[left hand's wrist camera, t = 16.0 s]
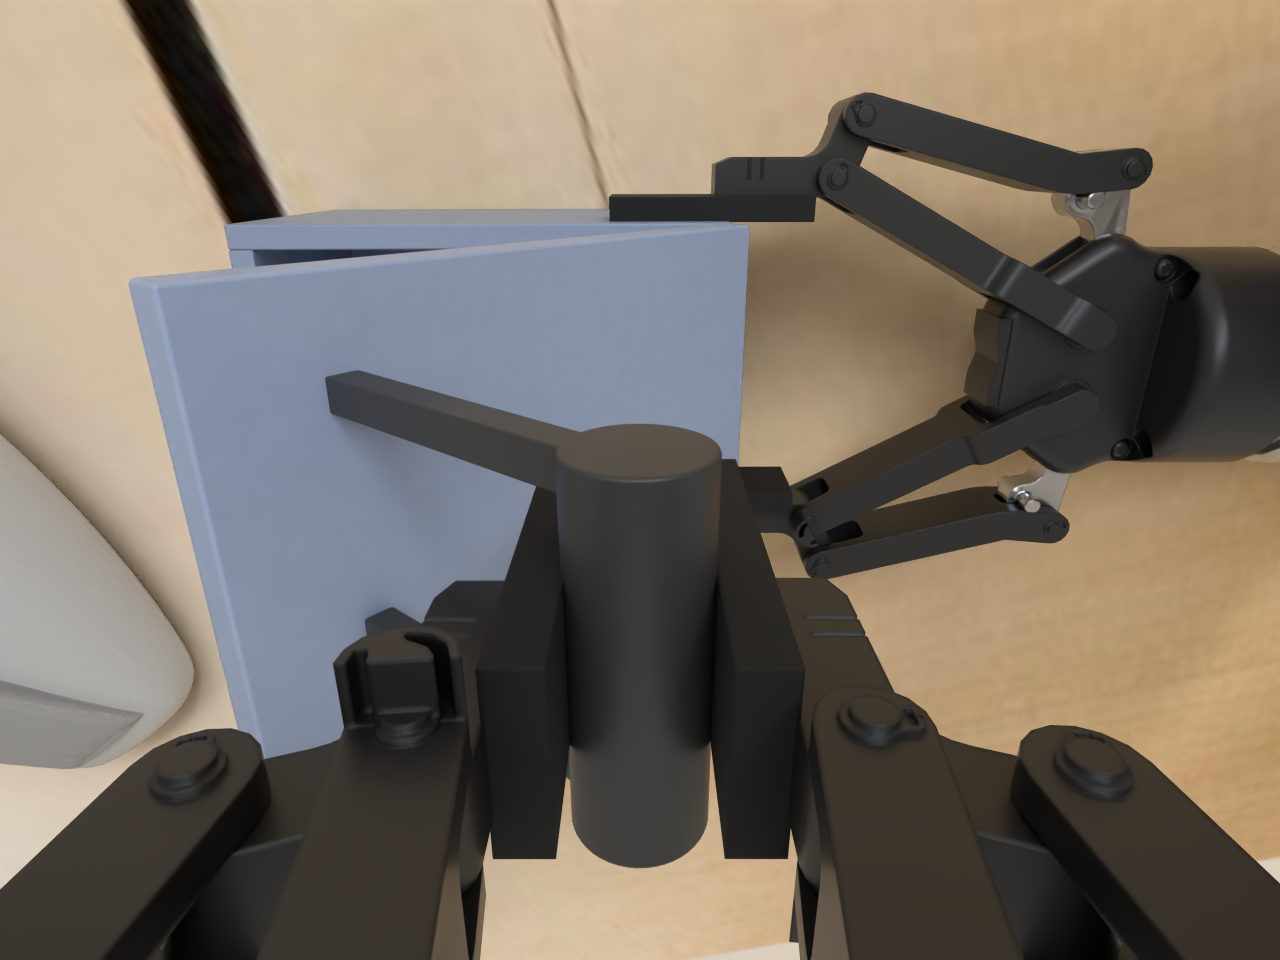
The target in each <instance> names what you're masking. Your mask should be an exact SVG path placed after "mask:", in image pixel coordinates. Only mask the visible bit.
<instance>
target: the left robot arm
mask: <svg viewBox="0 0 1280 960" xmlns="http://www.w3.org/2000/svg"><path fill="white" fill-rule="evenodd" d="M333 668H334V674H335V679H336V685H337V691H338V696H339V702H340V708H341V713H342V719H343V725H344V729H343V731H342V734H341V737H340V739H338V740H336V741H333V742H331V743H328V744H325V745H322V746H318V747H315V748H311V749H307V750H303V751H298V752H294V753H289V754H285V755H280V756H276V757H271V758H267V759H264V756H263V752H262V747H261V744H260V743H259V742H258V741H257V740H256V739H255V738H254V737H253V736H252V735H251V734H250V733H246V732H242V731H239V730H235V729H232V728H228V729H206V730H202V731H199V732H195V733H190V734H187V735H183V736H179V737H177V738H175V739H173V740H171V741H169V742H167V743H165V744H162V745H160V746H158V747H156V748H154V749H152V750H151V751H150V752H148V753H147V754H146V755H144V756H143V757H142V758H140V759H139V760H137V761H136V762H135V763H133V764H132V765H131V766H130V767H129V768H128V769H127V770H125V771H124V772H123V773H122V774H121V775H120V776H119V777H118V778H117V779H116V780H115V781H114V782H113V783H112V784H111V785H110V786H109V787H108V788H107V789H105V790H104V791H103V792H102V793H101V794H100V795H99V796H98V797H97V798H96V799H95V800H94V801H93V802H92V803H91V804H90V805H89V806H88V807H87V808H85V809H84V810H83V811H82V812H81V813H80V814H79V815H78V816H77V817H76V818H75V819H74V820H73V821H72V822H71V823H70V824H69V825H68V826H67V827H66V828H64V829H63V830H62V831H61V832H60V833H59V834H58V835H57V836H56V837H55V838H54V839H53V840H52V841H51V842H50V843H49V844H48V845H47V846H46V847H44V848H43V849H42V850H41V851H40V852H39V853H38V854H37V855H36V856H35V857H34V858H33V859H32V860H31V861H30V862H29V863H28V864H27V865H26V866H25V867H23V868H22V869H21V870H20V871H19V872H18V873H17V874H16V875H15V876H14V877H13V878H12V879H11V880H10V881H9V882H8V883H7V884H6V885H5V886H3V887H2V888H1V889H0V960H480V953H481V942H482V932H483V921H484V910H485V899H486V890H485V881H484V871H483V860H484V855H485V851H486V847H487V842H488V838H489V833H490V832H491V843H492V853H493V859H556V854H557V846H558V838H559V829H560V821H561V813H562V805H563V797H564V789H565V781H566V772H567V764H568V756H569V748H570V735H569V713H568V690H567V668H566V645H565V622H564V600H563V580H562V577H561V573H560V556H559V535H558V514H557V494H556V493H554V492H551V491H548V490H545V489H542V488H539V487H537V486H536V488H535V491H534V494H533V497H532V500H531V503H530V506H529V509H528V512H527V515H526V518H525V521H524V524H523V527H522V530H521V533H520V536H519V539H518V542H517V545H516V548H515V551H514V554H513V557H512V560H511V563H510V566H509V569H508V572H507V575H506V578H505V581H455V582H453V583H452V584H451V585H450V586H448V587H447V588H446V589H445V590H443V591H442V592H441V593H440V594H438V595H437V596H436V597H434V599H433V601H432V603H431V605H430V607H429V609H428V611H427V613H426V615H425V617H424V622H422V624H421V626H412V625H407V626H401V627H395V628H388V629H383V630H381V631H378V632H375V633H372V634H370V635H367V636H364V637H362V638H360V639H359V640H357V641H356V642H354V643H352V644H351V645H349V646H348V647H346V648H345V649H344V650H343V651H342V652H341V653H340V655H339V656H338V657H337V658H336V660H335V661H334V662H333ZM710 742H711V750H712V758H713V766H714V774H715V782H716V791H717V799H718V807H719V815H720V823H721V832H722V840H723V848H724V856H725V859H788V850H789V840H790V829H791V831H792V835H793V840H794V844H795V848H796V853H797V857H798V861H797V871H796V881H795V890H794V900H793V910H792V920H791V930H790V940H789V942H796V943H799V952H800V960H1280V883H1279V882H1278V881H1277V880H1276V879H1274V878H1273V877H1272V876H1271V875H1270V874H1269V873H1268V872H1267V871H1266V870H1265V869H1264V868H1263V867H1262V866H1261V865H1260V864H1259V863H1258V862H1257V861H1255V860H1254V859H1253V858H1252V857H1251V856H1250V855H1249V854H1248V853H1247V852H1246V851H1245V850H1244V849H1243V848H1242V847H1241V846H1240V845H1239V844H1237V843H1236V842H1235V841H1234V840H1233V839H1232V838H1231V837H1230V836H1229V835H1228V834H1227V833H1226V832H1225V831H1224V830H1223V829H1222V828H1220V827H1219V826H1218V825H1217V824H1216V823H1215V822H1214V821H1213V820H1212V819H1211V818H1210V817H1209V816H1208V815H1207V814H1206V813H1205V812H1204V811H1202V810H1201V809H1200V808H1199V807H1198V806H1197V805H1196V804H1195V803H1194V802H1193V801H1192V800H1191V799H1190V798H1189V797H1188V796H1187V795H1186V794H1184V793H1183V792H1182V791H1181V790H1180V789H1179V788H1178V787H1177V786H1176V785H1175V784H1174V783H1173V782H1172V781H1171V780H1170V779H1169V778H1168V777H1166V776H1165V775H1164V774H1163V773H1162V772H1161V771H1160V770H1159V769H1158V768H1157V767H1156V766H1155V765H1154V764H1153V763H1152V762H1150V761H1149V760H1148V759H1146V758H1145V757H1144V756H1142V755H1141V754H1139V753H1138V752H1137V751H1135V750H1134V749H1133V748H1131V747H1130V746H1128V745H1126V744H1124V743H1122V742H1120V741H1118V740H1116V739H1114V738H1111V737H1109V736H1107V735H1105V734H1103V733H1100V732H1096V731H1092V730H1088V729H1084V728H1080V727H1076V726H1059V725H1049V726H1045V727H1042V728H1038V729H1035V730H1031V731H1030V732H1029V733H1028V734H1027V735H1026V736H1025V737H1024V738H1023V739H1022V740H1021V742H1020V747H1019V751H1018V755H1017V756H1015V755H1011V754H1006V753H1002V752H997V751H993V750H988V749H983V748H979V747H974V746H970V745H967V744H963V743H960V742H957V741H953V740H950V739H948V738H946V737H944V736H941V735H939V733H938V730H937V728H936V726H935V724H934V723H933V721H932V720H931V718H930V717H929V715H928V714H927V712H926V711H925V710H923V709H922V708H921V707H919V706H918V705H917V704H915V703H914V702H913V701H911V700H910V699H909V698H906V697H904V696H902V695H899V694H897V693H895V692H894V690H893V688H892V686H891V684H890V682H889V680H888V678H887V676H886V674H885V672H884V670H883V668H882V666H881V664H880V662H879V660H878V658H877V655H876V653H875V651H874V649H873V647H872V645H871V643H870V641H869V639H868V637H865V631H864V629H863V627H862V625H861V623H860V621H859V620H857V615H856V612H855V610H854V608H853V606H852V604H851V602H850V600H849V598H848V596H847V595H846V594H845V593H843V592H842V591H841V590H840V589H838V588H837V587H836V586H835V585H833V584H832V583H831V582H829V581H828V580H827V579H826V578H775V575H774V572H773V569H772V566H771V563H770V560H769V557H768V554H767V551H766V548H765V545H764V542H763V539H762V536H761V533H760V530H759V527H758V524H757V521H756V518H755V515H754V512H753V509H752V506H751V503H750V500H749V497H748V494H747V491H746V488H745V485H744V482H743V479H742V476H741V473H740V470H739V467H738V464H737V461H736V459H722V469H721V494H720V520H719V546H718V571H717V591H716V616H715V640H714V664H713V689H712V713H711V738H710Z"/></svg>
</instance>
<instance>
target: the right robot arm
mask: <svg viewBox="0 0 1280 960" xmlns="http://www.w3.org/2000/svg"><path fill="white" fill-rule="evenodd" d="M868 146H869V147H873V148H876V149H880V150H883V151H887V152H890V153H894V154H897V155H901V156H904V157H908V158H911V159H915V160H918V161H922V162H925V163H929V164H932V165H936V166H939V167H943V168H946V169H950V170H953V171H957V172H960V173H964V174H967V175H971V176H974V177H978V178H981V179H985V180H988V181H992V182H995V183H999V184H1002V185H1006V186H1009V187H1013V188H1017V189H1021V190H1026V191H1036V192H1050V193H1052V196H1051V202H1052V205H1053V208H1054V210H1055V211H1056V212H1057V213H1058V214H1059V215H1061V216H1066V217H1071V218H1073V219H1074V220H1076V221H1077V223H1078V224H1079V226H1080V235H1079V236H1077V237H1076V238H1074V239H1072V240H1071V241H1069V242H1068V243H1066V244H1065V245H1063V246H1062V247H1060V248H1059V249H1057V250H1056V251H1054V252H1053V253H1051V254H1050V255H1048V256H1047V257H1045V258H1044V259H1042V260H1041V261H1039V262H1038V263H1036V264H1035V265H1033V266H1032V267H1029V266H1027V265H1025V264H1024V263H1022V262H1020V261H1018V260H1015V259H1013V258H1011V257H1009V256H1007V255H1005V254H1003V253H1002V252H1000V251H998V250H997V249H995V248H993V247H992V246H990V245H988V244H987V243H985V242H984V241H982V240H980V239H979V238H977V237H975V236H974V235H972V234H970V233H969V232H967V231H965V230H964V229H962V228H961V227H959V226H957V225H956V224H954V223H952V222H951V221H949V220H947V219H946V218H944V217H942V216H941V215H939V214H938V213H936V212H934V211H933V210H931V209H929V208H928V207H926V206H924V205H923V204H921V203H919V202H918V201H916V200H915V199H913V198H911V197H910V196H908V195H906V194H905V193H903V192H901V191H900V190H898V189H896V188H895V187H893V186H892V185H890V184H888V183H887V182H885V181H883V180H882V179H880V178H878V177H877V176H875V175H873V174H872V173H870V172H869V171H867V170H865V169H864V168H862V167H860V164H861V161H862V159H863V157H864V154H865V152H866V150H867V148H868ZM1152 168H1153V163H1152V158H1151V156H1150V154H1149V152H1147V151H1146V150H1144V149H1139V148H1126V149H1102V150H1087V151H1078V152H1072V151H1069V150H1066V149H1062V148H1059V147H1055V146H1052V145H1049V144H1045V143H1042V142H1038V141H1035V140H1031V139H1028V138H1025V137H1021V136H1018V135H1014V134H1011V133H1008V132H1004V131H1001V130H997V129H994V128H990V127H987V126H984V125H980V124H977V123H973V122H970V121H966V120H963V119H960V118H956V117H953V116H949V115H946V114H943V113H939V112H936V111H932V110H929V109H925V108H922V107H919V106H915V105H912V104H908V103H905V102H902V101H898V100H895V99H891V98H888V97H884V96H881V95H878V94H874V93H862V94H859V95H855V96H852V97H849V98H846V99H844V100H841V101H839V102H837V103H836V104H835V105H834V106H833V107H832V109H831V111H830V113H829V116H828V124H827V127H826V129H825V132H824V134H823V136H822V139H821V141H820V143H819V145H818V146H817V148H816V149H815V150H814V151H813V152H811V153H810V154H809V155H806V156H804V157H729V158H726V159H723V160H721V161H719V162H716V163H714V164H712V182H711V194H612V195H611V196H610V197H609V217H610V222H643V221H729V222H814V217H815V204H816V197H819V198H820V199H822V200H824V201H825V202H827V203H829V204H830V205H832V206H834V207H835V208H837V209H839V210H840V211H842V212H844V213H846V214H847V215H849V216H851V217H852V218H854V219H856V220H857V221H859V222H861V223H862V224H864V225H866V226H867V227H869V228H871V229H872V230H874V231H876V232H878V233H879V234H881V235H883V236H884V237H886V238H888V239H889V240H891V241H893V242H894V243H896V244H898V245H899V246H901V247H903V248H905V249H906V250H908V251H910V252H911V253H913V254H915V255H916V256H918V257H920V258H921V259H923V260H925V261H926V262H928V263H930V264H931V265H933V266H935V267H937V268H938V269H940V270H942V271H943V272H945V273H947V274H948V275H950V276H952V277H953V278H955V279H956V280H957V281H959V282H960V283H961V284H963V285H965V286H966V287H968V288H970V289H971V290H973V291H975V292H977V293H978V294H980V295H982V296H983V297H985V298H987V299H988V301H987V303H986V304H985V306H984V308H983V309H977V313H976V319H975V325H974V336H975V346H976V352H975V355H974V357H973V359H972V362H971V364H970V366H969V369H968V371H967V375H966V382H965V388H964V392H965V393H966V394H968V395H967V396H964V397H962V398H960V399H958V400H956V401H954V402H952V403H950V404H948V405H946V406H944V407H942V408H941V409H940V410H939V411H938V413H937V415H936V416H935V417H933V418H931V419H929V420H927V421H925V422H923V423H921V424H919V425H917V426H914V427H912V428H910V429H908V430H906V431H904V432H902V433H900V434H898V435H896V436H894V437H891V438H889V439H887V440H885V441H883V442H881V443H879V444H877V445H875V446H873V447H871V448H868V449H866V450H864V451H862V452H860V453H858V454H856V455H854V456H852V457H850V458H848V459H846V460H843V461H841V462H839V463H837V464H835V465H833V466H831V467H829V468H827V469H825V470H823V471H820V472H818V473H816V474H814V475H812V476H810V477H808V478H806V479H804V480H802V481H800V482H797V483H795V484H793V485H791V486H789V484H788V482H787V480H786V477H785V475H784V473H783V471H782V469H781V467H739V470H740V473H741V476H742V479H743V482H744V485H745V488H746V491H747V494H748V497H749V500H750V503H751V506H752V509H753V512H754V515H755V518H756V521H757V524H758V527H759V530H760V533H784V534H787V535H789V536H790V537H792V538H793V539H794V543H795V545H796V548H797V551H798V553H799V556H800V558H801V560H802V563H803V565H804V567H805V570H806V572H807V574H808V575H809V576H810V577H811V578H826V579H830V578H834V577H839V576H843V575H848V574H852V573H857V572H861V571H866V570H870V569H875V568H879V567H884V566H888V565H893V564H897V563H902V562H906V561H911V560H915V559H920V558H924V557H929V556H933V555H938V554H942V553H947V552H951V551H956V550H960V549H965V548H969V547H974V546H978V545H983V544H987V543H992V542H996V541H1001V540H1016V541H1027V542H1039V543H1055V542H1058V541H1060V540H1062V539H1063V538H1064V537H1065V536H1066V535H1067V533H1068V531H1069V522H1068V519H1066V518H1065V517H1064V516H1063V515H1062V514H1061V513H1059V512H1058V511H1059V507H1060V504H1061V501H1062V498H1063V495H1064V492H1065V489H1066V486H1067V483H1068V480H1069V477H1070V474H1071V473H1075V472H1078V471H1081V470H1083V469H1085V468H1087V467H1089V466H1092V465H1094V464H1097V463H1100V462H1105V461H1128V462H1229V461H1236V460H1245V461H1251V462H1280V247H1278V248H1272V249H1268V250H1267V249H1263V248H1258V247H1145V246H1143V245H1141V244H1139V243H1137V242H1136V241H1135V240H1133V239H1132V238H1130V237H1128V236H1126V235H1125V229H1126V221H1127V214H1128V206H1129V198H1130V191H1131V189H1133V188H1137V187H1139V186H1140V185H1142V184H1143V183H1144V182H1145V181H1146V180H1147V179H1148V177H1149V176H1150V174H1151V171H1152ZM1020 449H1021V450H1022V451H1024V452H1025V453H1026V454H1028V455H1029V456H1030V457H1031V458H1033V459H1034V462H1033V465H1032V466H1031V468H1030V469H1029V470H1028V471H1026V472H1025V473H1023V474H1020V475H1015V476H1010V477H1009V476H1004V477H1001V478H1000V479H999V481H998V487H992V486H985V487H974V488H968V489H963V490H958V491H954V492H950V493H945V494H941V495H937V496H932V497H928V498H924V499H919V500H915V501H910V502H906V503H902V504H897V505H893V506H889V507H884V508H880V509H876V508H878V507H880V506H882V505H884V504H886V503H889V502H891V501H893V500H895V499H897V498H899V497H901V496H904V495H906V494H908V493H910V492H912V491H914V490H917V489H919V488H921V487H923V486H925V485H927V484H930V483H932V482H934V481H936V480H938V479H940V478H943V477H945V476H947V475H949V474H951V473H953V472H955V471H958V470H960V469H962V468H964V467H966V466H969V465H973V464H979V465H983V464H988V463H991V462H994V461H996V460H998V459H1000V458H1002V457H1004V456H1007V455H1009V454H1011V453H1013V452H1015V451H1017V450H1020ZM873 509H876V510H873Z"/></svg>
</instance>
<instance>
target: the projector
mask: <svg viewBox="0 0 1280 960" xmlns="http://www.w3.org/2000/svg"><path fill="white" fill-rule="evenodd" d="M193 679H194V667H193V663H192V660H191V658H190V656H189V654H188V652H187V650H186V648H185V646H184V644H183V643H182V641H181V640H180V638H179V636H178V635H177V633H176V632H175V630H174V628H173V627H172V625H171V624H170V623H169V621H168V620H167V618H166V617H165V615H164V614H163V613H162V611H161V610H160V608H159V607H158V606H157V604H156V603H155V601H154V600H153V599H152V597H151V596H150V595H149V593H148V592H147V591H146V589H145V588H144V587H143V586H142V584H141V583H140V582H139V580H138V579H137V578H136V576H135V575H134V574H133V573H132V571H131V570H130V569H129V568H128V566H127V565H126V564H125V563H124V562H123V560H122V559H121V558H120V557H119V556H118V554H117V553H116V552H115V551H114V550H113V548H112V547H111V546H110V545H109V544H108V542H107V541H106V540H105V539H104V538H103V537H102V536H101V534H100V533H99V532H98V531H97V530H96V529H95V528H94V527H93V526H92V524H91V523H90V522H89V521H88V520H87V519H86V518H85V517H84V516H83V515H82V513H81V512H80V511H79V510H78V509H77V508H76V507H75V506H74V505H73V504H72V503H71V502H70V501H69V500H68V499H67V498H66V497H65V496H64V495H63V494H62V493H61V492H60V491H59V490H58V489H57V488H56V486H55V485H54V484H53V483H52V482H51V481H50V480H49V479H48V478H47V477H46V476H45V475H43V474H42V473H41V472H40V471H39V470H38V469H37V468H36V467H35V466H34V465H33V464H32V463H31V462H30V461H29V460H28V459H27V458H26V457H25V456H24V455H23V454H22V453H21V452H20V451H19V450H17V449H16V448H15V447H14V446H13V445H12V444H11V443H10V442H9V441H8V440H6V439H5V438H4V437H3V436H2V435H1V434H0V763H1V764H12V765H23V766H34V767H46V768H59V769H73V768H88V767H94V766H98V765H102V764H105V763H107V762H110V761H112V760H114V759H116V758H118V757H120V756H122V755H123V754H125V753H126V752H128V751H129V750H131V749H132V748H134V747H135V746H137V745H138V744H140V743H141V742H142V741H144V740H145V739H146V738H148V737H149V736H150V735H151V734H153V733H154V732H155V731H156V730H158V729H159V728H160V727H161V726H162V725H163V724H165V723H166V722H167V721H168V720H169V719H170V718H171V717H172V716H173V715H174V714H175V713H176V712H177V711H178V710H179V708H180V707H181V706H182V704H183V703H184V701H185V700H186V698H187V696H188V694H189V692H190V689H191V687H192V683H193Z"/></svg>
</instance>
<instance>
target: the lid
mask: <svg viewBox="0 0 1280 960" xmlns="http://www.w3.org/2000/svg"><path fill="white" fill-rule="evenodd" d="M749 229H750V228H749V226H748V225H739V224H714V225H703V226H692V227H681V228H671V229H660V230H649V231H638V232H627V233H616V234H605V235H595V236H584V237H573V238H562V239H551V240H540V241H529V242H519V243H508V244H497V245H486V246H475V247H464V248H453V249H443V250H432V251H421V252H410V253H399V254H388V255H377V256H367V257H356V258H345V259H334V260H323V261H312V262H301V263H291V264H280V265H269V266H258V267H247V268H236V269H225V270H215V271H204V272H193V273H182V274H171V275H160V276H149V277H139V278H133V279H131V280H129V288H130V292H131V296H132V300H133V304H134V309H135V313H136V317H137V321H138V325H139V329H140V333H141V337H142V341H143V345H144V349H145V353H146V357H147V361H148V365H149V369H150V374H151V378H152V382H153V386H154V390H155V394H156V398H157V402H158V406H159V410H160V414H161V418H162V422H163V426H164V430H165V434H166V438H167V443H168V447H169V451H170V455H171V459H172V463H173V467H174V471H175V475H176V479H177V483H178V487H179V491H180V495H181V499H182V503H183V508H184V512H185V516H186V520H187V524H188V528H189V532H190V536H191V540H192V544H193V548H194V552H195V556H196V560H197V564H198V568H199V573H200V577H201V581H202V585H203V589H204V593H205V597H206V601H207V605H208V609H209V613H210V617H211V621H212V625H213V629H214V633H215V638H216V642H217V646H218V650H219V654H220V658H221V662H222V666H223V670H224V674H225V678H226V682H227V686H228V690H229V694H230V698H231V703H232V707H233V711H234V715H235V719H236V723H237V727H238V730H239V731H242V732H246V733H250V734H251V735H252V736H253V737H254V738H255V739H256V740H257V741H258V742H259V743H260V744H261V747H262V752H263V756H264V759H267V758H271V757H276V756H280V755H285V754H289V753H294V752H298V751H303V750H307V749H311V748H315V747H318V746H322V745H325V744H328V743H331V742H333V741H336V740H338V739H340V737H341V734H342V731H343V729H344V725H343V719H342V713H341V708H340V702H339V696H338V691H337V685H336V679H335V674H334V668H333V662H334V661H335V660H336V658H337V657H338V656H339V655H340V653H341V652H342V651H343V650H344V649H345V648H346V647H348V646H349V645H351V644H352V643H354V642H356V641H357V640H359V639H360V638H362V637H364V636H367V635H370V634H372V633H375V632H378V631H381V630H383V629H388V628H395V627H401V626H407V625H412V626H421V624H422V622H424V617H425V615H426V613H427V611H428V609H429V607H430V605H431V603H432V601H433V599H434V597H436V596H437V595H438V594H440V593H441V592H442V591H443V590H445V589H446V588H447V587H448V586H450V585H451V584H452V583H453V582H455V581H505V578H506V575H507V572H508V569H509V566H510V563H511V560H512V557H513V554H514V551H515V548H516V545H517V542H518V539H519V536H520V533H521V530H522V527H523V524H524V521H525V518H526V515H527V512H528V509H529V506H530V503H531V500H532V497H533V494H534V491H535V488H536V486H537V487H539V488H542V489H545V490H548V491H551V492H554V493H556V494H557V514H558V535H559V556H560V573H561V577H562V580H563V600H564V622H565V645H566V668H567V690H568V713H569V735H570V748H569V756H568V764H567V772H566V778H568V779H569V780H570V787H571V808H572V822H573V826H574V829H575V831H576V833H577V835H578V837H579V838H580V840H581V842H582V843H583V844H584V845H585V846H586V847H587V849H588V850H590V851H591V852H592V853H593V854H595V855H596V856H598V857H599V858H601V859H603V860H605V861H607V862H609V863H612V864H615V865H618V866H623V867H629V868H650V867H657V866H661V865H665V864H667V863H670V862H673V861H675V860H677V859H679V858H680V857H682V856H683V855H685V854H686V853H688V852H689V851H690V850H691V849H692V848H693V847H694V846H695V845H696V844H697V842H698V841H699V840H700V838H701V837H702V835H703V833H704V831H705V828H706V825H707V821H708V802H709V776H710V750H711V742H710V738H711V713H712V689H713V664H714V640H715V616H716V591H717V571H718V546H719V520H720V494H721V469H722V459H736V461H737V464H738V460H739V439H740V418H741V397H742V376H743V355H744V334H745V313H746V292H747V271H748V250H749Z"/></svg>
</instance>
